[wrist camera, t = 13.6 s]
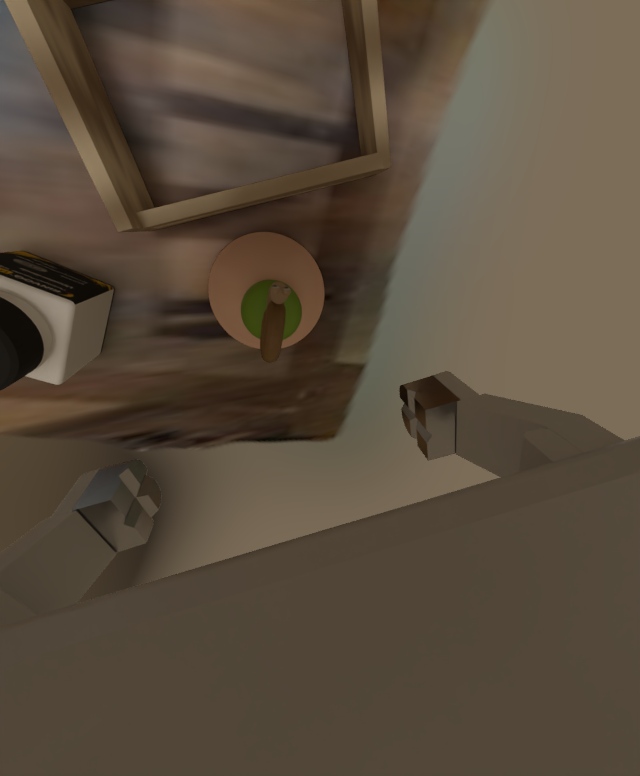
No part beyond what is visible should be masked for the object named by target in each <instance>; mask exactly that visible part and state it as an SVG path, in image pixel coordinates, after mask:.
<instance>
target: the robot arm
mask: <svg viewBox="0 0 640 776" xmlns="http://www.w3.org/2000/svg"><path fill="white" fill-rule="evenodd" d="M400 398H401V399H402V400H403V402H404V405H403V407H402V409H401V410H402V418H403V421H404V424H405V427H406V429H407V431H408V433H409V434H410V435H411V437H413V438H416V439H417V443H418V447H419V448H420V450H421V451H422V453H423V454H424V455H425V457H426V458H427V460H432V459H436V458H440V457H444V456H448V455H451V454H455V453H456V455H458V456H460V457H462V458H464V459H466V460H468V461H470V462H472V463H474V464H476V465H478V466H480V467H482V468H484V469H486V470H488V471H490V472H492V473H494V474H496V475H498V476H499V477H501V478H497V479H494V480H491V481H487V482H484V483H481V484H477V485H474V486H471V487H467V488H464V489H461V490H457V491H454V492H451V493H447V494H444V495H441V496H437V497H434V498H431V499H428V500H424V501H421V502H417V503H414V504H411V505H407V506H404V507H401V508H397V509H394V510H390V511H387V512H384V513H380V514H377V515H373V516H370V517H367V518H363V519H360V520H357V521H353V522H350V523H346V524H343V525H339V526H336V527H333V528H329V529H326V530H322V531H319V532H316V533H312V534H309V535H306V536H303V537H299V538H296V539H292V540H289V541H286V542H282V543H279V544H275V545H272V546H269V547H265V548H262V549H259V550H256V551H252V552H249V553H246V554H242V555H239V556H235V557H232V558H229V559H225V560H222V561H219V562H215V563H212V564H209V565H205V566H202V567H199V568H195V569H192V570H188V571H185V572H182V573H179V574H175V575H172V576H168V577H165V578H161V579H158V580H155V581H151V582H148V583H145V584H141V585H138V586H135V587H131V588H128V589H124V590H121V591H118V592H114V593H111V594H108V595H104V596H101V597H98V598H94V599H91V600H88V601H84V602H81V603H78V604H76V603H77V602H78V601H79V600H80V598H81V597H82V596H83V595H84V594H85V592H86V591H87V590H88V588H89V587H90V586H91V585H92V584H93V583H94V581H95V580H96V579H97V578H98V576H99V575H100V574H101V573H102V571H103V570H104V569H105V568H106V567H107V565H108V564H109V563H110V562H111V560H112V559H113V558H114V557H115V555H116V552H119V551H123V550H125V549H129V548H132V547H135V546H138V545H141V544H144V543H147V540H148V537H149V534H150V532H151V529H152V527H153V524H154V522H153V520H152V518H151V517H152V516H153V515H154V514H155V513H156V511H158V509H159V506H160V504H161V490H160V487H159V485H158V483H157V482H156V480H155V479H154V478H151V477H149V476H147V475H146V473H147V467H146V466H145V465H144V464H143V462H142V461H141V460H137V459H135V460H131V461H127V462H123V463H119V464H115V465H112V466H108V467H104V468H100V469H96V470H93V471H90V472H87V473H85V474H82V475H81V476H80V477H79V479H78V480H77V481H76V483H75V484H74V486H73V487H72V488H71V490H70V491H69V492H68V494H67V495H66V497H65V498H64V499H63V501H62V502H61V504H60V505H59V506H58V508H57V509H56V510H55V512H54V513H53V515H52V516H51V517H50V518H47V519H44V520H43V521H42V522H40V523H39V524H38V525H36V526H35V527H34V528H32V529H31V530H30V531H28V532H27V533H26V534H24V535H23V536H22V537H21V538H19V539H18V540H17V541H15V542H14V543H13V544H11V545H10V546H9V547H8V548H6V549H5V550H4V551H2V552H1V553H0V776H640V436H639V437H635V438H632V439H628V440H623V439H621V438H620V437H618V436H616V435H615V434H613V433H611V432H610V431H608V430H606V429H605V428H603V427H601V426H599V425H598V424H596V423H595V422H593V421H591V420H590V419H588V418H586V417H585V416H583V415H580V414H575V413H571V412H566V411H562V410H557V409H552V408H548V407H543V406H538V405H534V404H529V403H525V402H520V401H516V400H511V399H506V398H502V397H497V396H493V395H488V394H482V395H479V394H478V393H476V392H475V391H474V390H472V389H471V388H470V387H468V386H467V385H466V384H465V383H463V382H462V381H461V380H460V379H458V378H457V377H456V376H454V375H453V374H452V373H451V372H448V371H445V372H442V373H439V374H436V375H432V376H430V377H427V378H423V379H420V380H417V381H413V382H410V383H407V384H404V385H401V386H400Z"/></svg>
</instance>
